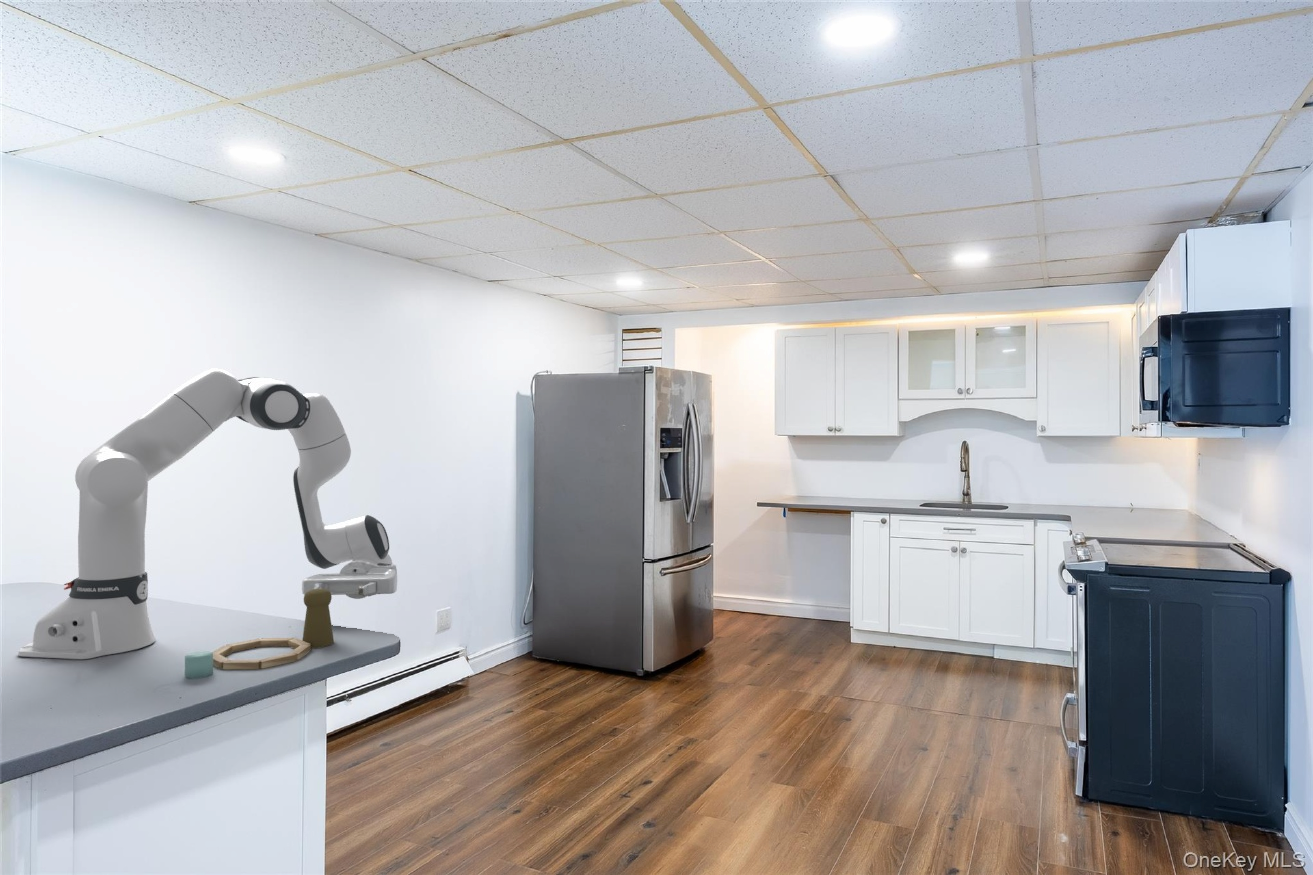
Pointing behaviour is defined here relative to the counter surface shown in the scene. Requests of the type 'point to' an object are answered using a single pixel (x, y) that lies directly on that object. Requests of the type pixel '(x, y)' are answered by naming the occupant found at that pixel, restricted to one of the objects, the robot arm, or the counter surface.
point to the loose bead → (199, 665)
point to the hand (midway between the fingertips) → (339, 591)
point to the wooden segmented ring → (225, 663)
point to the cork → (318, 618)
